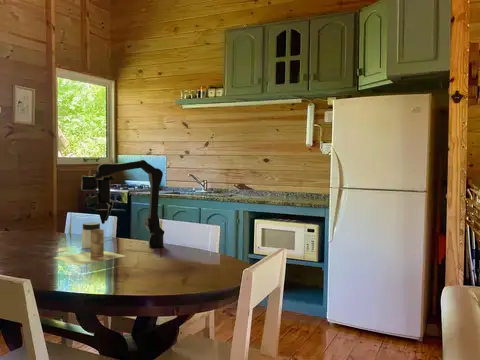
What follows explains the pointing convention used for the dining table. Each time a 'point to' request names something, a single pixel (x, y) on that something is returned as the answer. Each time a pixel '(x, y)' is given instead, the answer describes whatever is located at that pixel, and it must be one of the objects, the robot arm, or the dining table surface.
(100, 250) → the block
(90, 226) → the jar
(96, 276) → the dining table surface
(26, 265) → the dining table surface
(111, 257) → the board
